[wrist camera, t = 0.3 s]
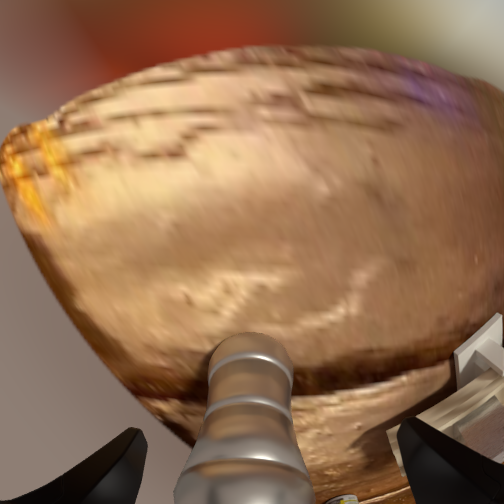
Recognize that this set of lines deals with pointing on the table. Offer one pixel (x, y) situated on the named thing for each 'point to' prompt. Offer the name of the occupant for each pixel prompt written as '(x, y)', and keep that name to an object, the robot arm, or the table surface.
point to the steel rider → (483, 430)
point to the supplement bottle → (344, 500)
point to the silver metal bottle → (247, 430)
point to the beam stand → (480, 353)
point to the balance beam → (455, 407)
